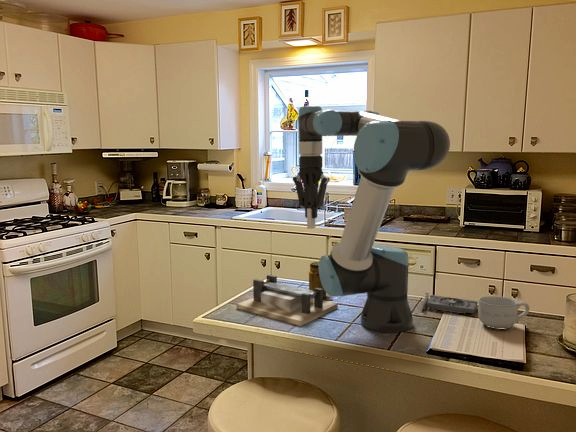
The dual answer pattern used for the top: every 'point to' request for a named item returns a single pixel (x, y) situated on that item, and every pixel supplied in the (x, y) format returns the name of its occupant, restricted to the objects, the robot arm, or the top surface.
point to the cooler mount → (286, 304)
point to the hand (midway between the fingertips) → (311, 227)
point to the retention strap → (288, 289)
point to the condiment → (316, 280)
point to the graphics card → (448, 304)
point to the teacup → (500, 311)
